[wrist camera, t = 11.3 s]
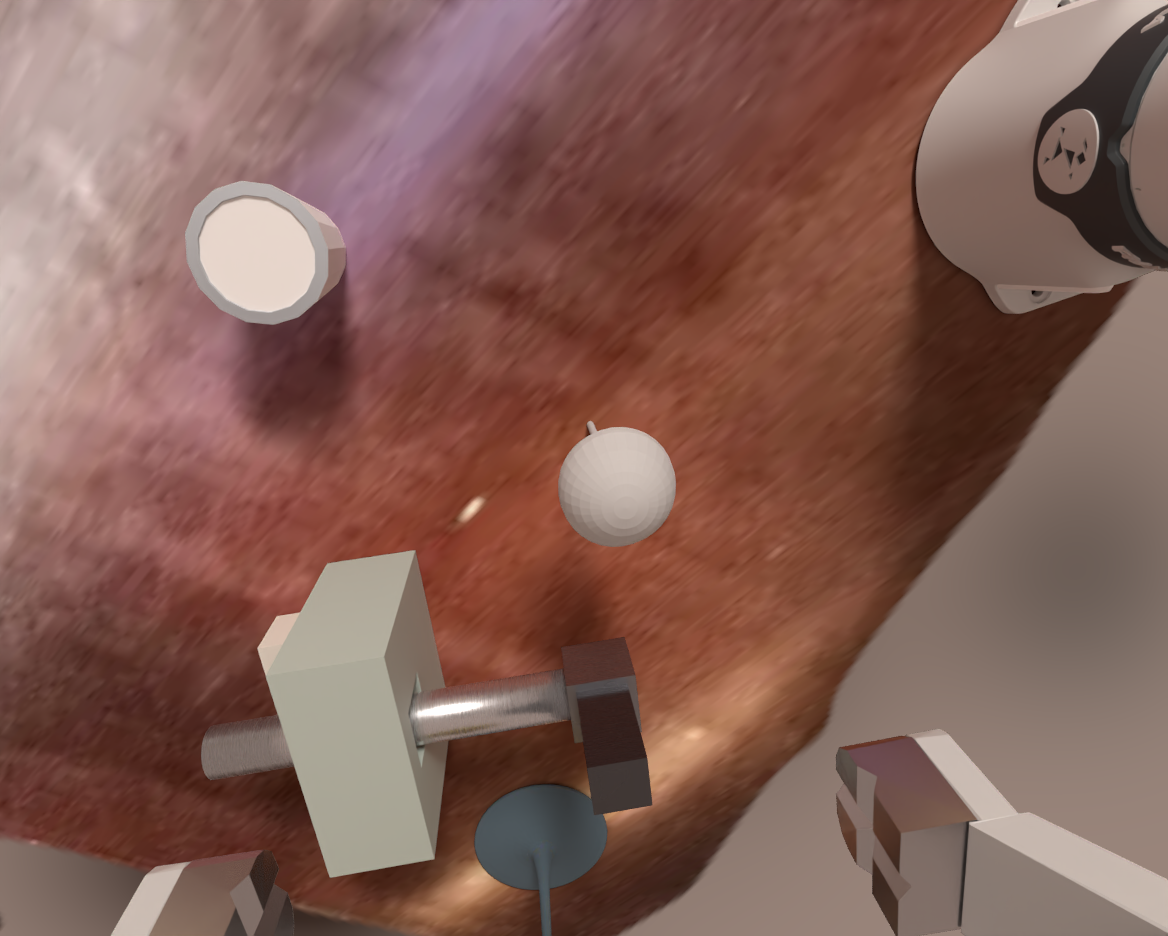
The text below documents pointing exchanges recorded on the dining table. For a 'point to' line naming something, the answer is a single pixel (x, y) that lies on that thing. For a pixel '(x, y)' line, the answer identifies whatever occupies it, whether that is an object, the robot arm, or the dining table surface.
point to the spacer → (275, 639)
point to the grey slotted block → (363, 713)
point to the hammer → (498, 722)
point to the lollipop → (616, 486)
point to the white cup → (263, 252)
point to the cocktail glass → (540, 840)
